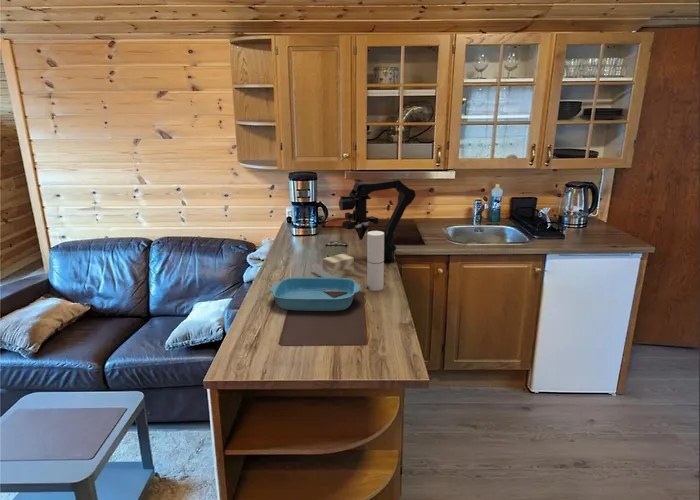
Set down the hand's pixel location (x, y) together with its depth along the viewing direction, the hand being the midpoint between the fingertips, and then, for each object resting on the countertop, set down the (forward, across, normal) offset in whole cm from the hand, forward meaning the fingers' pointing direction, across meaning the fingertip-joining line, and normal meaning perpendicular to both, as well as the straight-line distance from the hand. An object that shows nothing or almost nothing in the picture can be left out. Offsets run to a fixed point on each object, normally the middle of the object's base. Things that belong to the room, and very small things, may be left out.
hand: (360, 239), depth 231 cm
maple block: (+12, +19, +8) cm, 24 cm away
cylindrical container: (+13, +13, +28) cm, 34 cm away
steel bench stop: (+12, +26, +8) cm, 30 cm away
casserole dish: (+14, +42, +25) cm, 51 cm away
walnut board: (+13, +14, +8) cm, 20 cm away
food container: (+13, +6, -12) cm, 19 cm away
